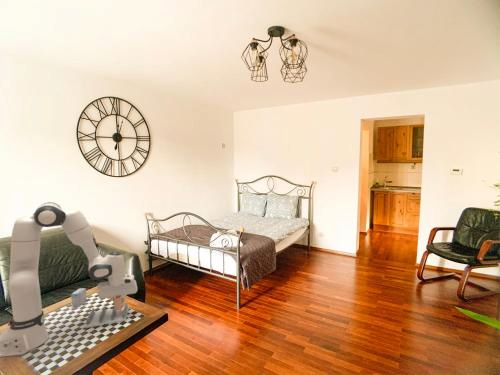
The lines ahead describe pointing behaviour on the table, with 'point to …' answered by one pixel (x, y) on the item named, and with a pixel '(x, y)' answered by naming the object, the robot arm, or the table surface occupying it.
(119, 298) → the block
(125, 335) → the table surface
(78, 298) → the medicine box
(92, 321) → the rack
